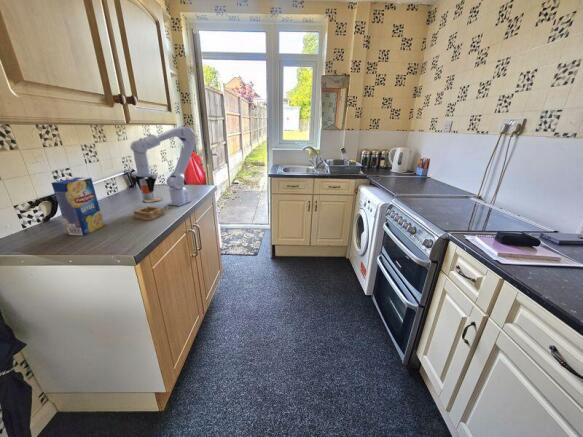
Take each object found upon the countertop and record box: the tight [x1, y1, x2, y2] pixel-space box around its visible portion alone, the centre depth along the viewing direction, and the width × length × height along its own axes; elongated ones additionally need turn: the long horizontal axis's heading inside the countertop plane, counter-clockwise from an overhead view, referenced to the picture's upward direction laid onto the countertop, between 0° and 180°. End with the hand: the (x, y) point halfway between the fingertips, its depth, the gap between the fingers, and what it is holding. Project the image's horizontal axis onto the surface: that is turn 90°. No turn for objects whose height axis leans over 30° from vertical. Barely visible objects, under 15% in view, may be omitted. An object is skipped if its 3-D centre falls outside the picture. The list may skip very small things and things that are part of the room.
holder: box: [133, 205, 165, 221], centre depth 124 cm, size 9×9×4 cm
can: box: [139, 178, 155, 201], centre depth 130 cm, size 5×5×11 cm
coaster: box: [143, 197, 162, 204], centre depth 150 cm, size 9×9×1 cm
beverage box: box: [51, 176, 105, 236], centre depth 103 cm, size 7×11×22 cm, turn 176°
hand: (147, 190), depth 131 cm, fingers closed on can, 5 cm apart
